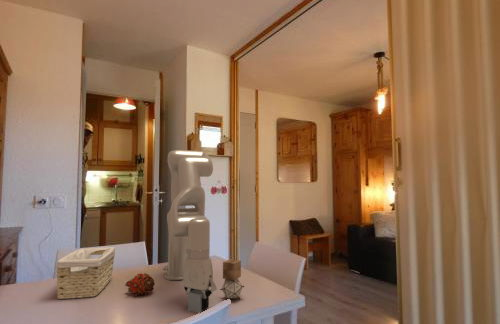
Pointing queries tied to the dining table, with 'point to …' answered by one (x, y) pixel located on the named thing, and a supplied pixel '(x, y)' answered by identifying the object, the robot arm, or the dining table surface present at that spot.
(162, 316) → the dining table surface
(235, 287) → the beige geometric ornament
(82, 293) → the storage basket
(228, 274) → the block
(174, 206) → the robot arm
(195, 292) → the block
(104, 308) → the dining table surface
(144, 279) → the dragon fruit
